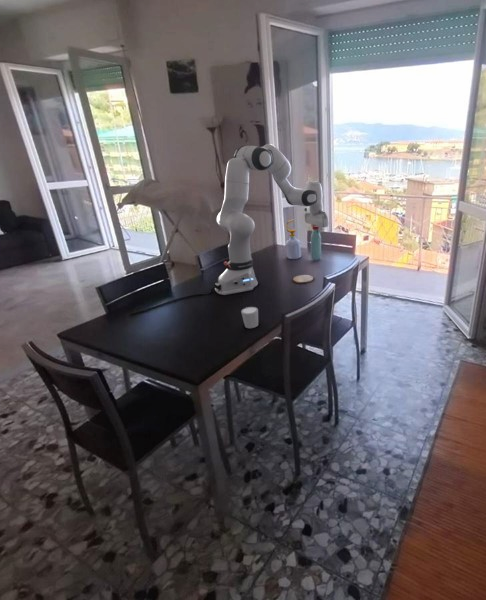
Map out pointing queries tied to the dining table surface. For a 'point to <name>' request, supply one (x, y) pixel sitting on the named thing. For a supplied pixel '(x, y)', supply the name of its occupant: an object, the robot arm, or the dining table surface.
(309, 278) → the coaster
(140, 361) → the dining table surface
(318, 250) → the bottle
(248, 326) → the white cylinder
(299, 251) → the soap bottle
